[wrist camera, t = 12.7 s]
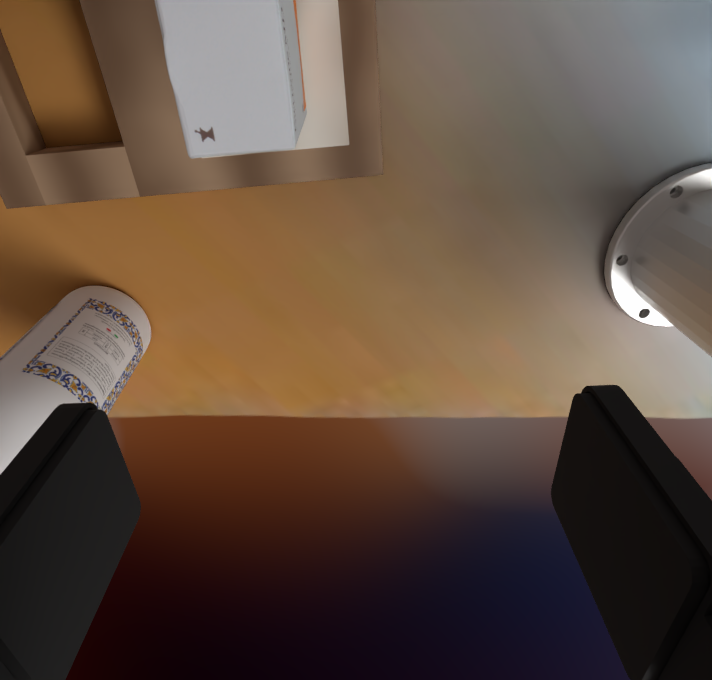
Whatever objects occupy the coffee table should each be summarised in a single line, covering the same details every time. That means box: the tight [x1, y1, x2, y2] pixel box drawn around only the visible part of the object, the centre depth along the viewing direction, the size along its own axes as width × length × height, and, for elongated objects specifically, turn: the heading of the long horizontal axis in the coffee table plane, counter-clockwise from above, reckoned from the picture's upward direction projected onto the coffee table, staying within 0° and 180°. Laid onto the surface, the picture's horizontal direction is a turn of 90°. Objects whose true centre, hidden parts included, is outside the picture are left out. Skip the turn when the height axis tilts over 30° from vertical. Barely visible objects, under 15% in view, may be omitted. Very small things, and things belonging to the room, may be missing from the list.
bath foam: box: [0, 286, 151, 474], centre depth 30 cm, size 7×7×20 cm
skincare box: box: [154, 0, 307, 159], centre depth 22 cm, size 6×4×12 cm
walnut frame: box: [0, 0, 383, 209], centre depth 28 cm, size 24×14×3 cm, turn 94°
